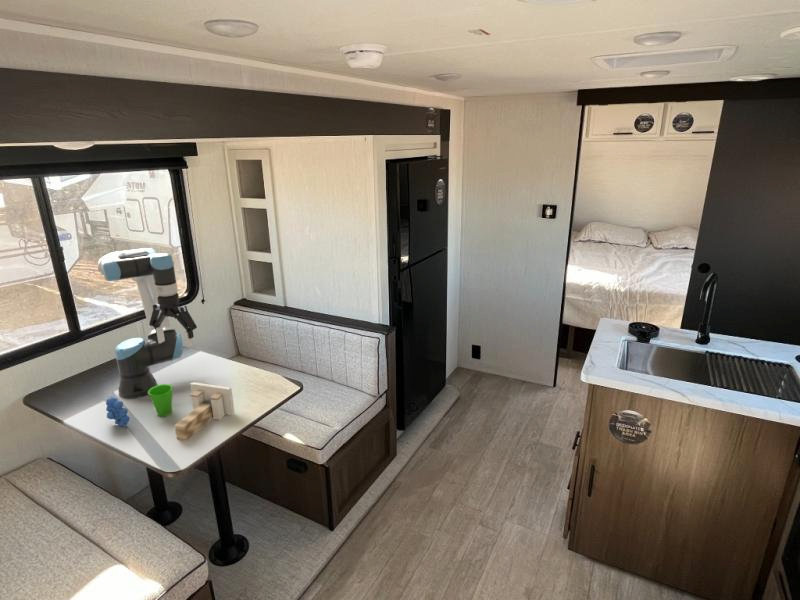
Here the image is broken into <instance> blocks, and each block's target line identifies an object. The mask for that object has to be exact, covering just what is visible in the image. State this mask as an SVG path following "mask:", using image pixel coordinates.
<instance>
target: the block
mask: <svg viewBox="0 0 800 600" xmlns="http://www.w3.org/2000/svg"><path fill="white" fill-rule="evenodd" d="M212 419H214V418H213V411H212V405H211V401H206V400H205V401H204V402H203V403H202V404H201V405H199V406H198V407H197V408H196V409H194V410H193V409H192V410H191V412H189V413H188V414H187V415H185V417H183V418H182V419H181V420H179V421H178V422H177V423H176V424H174V429H175V435H176V439H177V440H180V441H184V442H185V441H188V440H189V439H190V438H191V437H192V436H194V435H195V434H196V433H197V432H198V431H200V429H201V428H202V427H204V426H205V425H206V424H207V423H209V422H210V420H212Z"/></svg>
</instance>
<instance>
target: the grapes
mask: <svg viewBox="0 0 800 600" xmlns="http://www.w3.org/2000/svg"><path fill="white" fill-rule="evenodd" d="M105 404H106V409H105V410H106V411H107V413H106V418H107V419H108V420H114V424H115V425H117V426H121V427H127V426H128V424H129V422H130V418H131V416H130V415H128V411H129V410H128V409H127V408H125V407H124V402H122V401H120V400H118V398H117V397H114V396H112V397H109V398H107V399H106V401H105Z"/></svg>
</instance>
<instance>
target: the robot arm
mask: <svg viewBox="0 0 800 600" xmlns="http://www.w3.org/2000/svg"><path fill="white" fill-rule="evenodd" d="M97 269H98V272H99V273H100V274H101V275H102V276H104V279H105V281H107V282H113V281H114V282H117V281H121V280H127V279H131V281H133V282H135V283H136V285H137V289H138V291H139V292H138V293H139V296H140V299H141V303H142V308H143V310H144V314H145V318H146V322H147V326H148V329H149V333H148V335H147V339H146V340H145V339H144V338H142V337H132V338H129V339H126V340H124V341H122V342H120V343H119V344H117V346H115V349H114V354H115V360H116V363H117V368H118V372H119V373H118V374H119V377H120V379H119V386H118V388H117V389H118V390H117V391H118V395H119V396H120V397H121V398H122V399H123V398H124V399H137V398H141V397H143V396H144V397H146V396H147V395H149V394H148V391H149V390H150V389H151V388H152V387H154V386H157V385H158V382H157V380H156V378H155V377H154V375H153V373H152V372H151V370H150V367H151V366H156V365H159V364H162V363H163V364H164V363H166V362H169V361H171V362H173V360H177V359H180V358H181V357H182V356H183V353H184V352H183V351H184V347H183V345H184V344H183V338H182V335H181V333H180V332H176V329H175V328H173V327H172V326H171V324H170V320H169V317H170V318H174V319H176V320H177V321H178V322H179V324H180V325H181V326H182V327H183V328H184V329H185V332H184V333H185V339H186V340H185V341H186V346H187V348H190V347H191V346H193V345H194V330H196V329H197V325H196V323H195V321H194V319H193V318H192V316H191V314H190V312H189V311H188V308H187V305H183V306H180V304H179V303H180V296H179V295H180V294H179V293H178V291H179V290H178V289H179V288H178V285H177V277H176V271H175V263H174V260H173V256H172V255H171V253H167V252H163V253H157V251H156V250H155V249H153V248H151V247H149V248H148V247H145V248H143V247H141V248H136V249H127V250H119V251H115V252H114V251H113V252H110V253H107V254H106V255H104V256H102V257H101V258H99V260H98V263H97Z"/></svg>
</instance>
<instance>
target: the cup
mask: <svg viewBox="0 0 800 600" xmlns="http://www.w3.org/2000/svg"><path fill="white" fill-rule="evenodd" d="M173 388H174V387H173V385H172V384H167V383H164V384H157V386H154V387H152V388H151V389H150V390H149V391H148V394H147V395H149V397H150V400H151V401H152V404H153V407H154V409H155V411H156V414H157V416H159V417H166V416H169V415H170V414H172V412H173V411H172V408H173V407H172V406H173V401H172V400H173Z"/></svg>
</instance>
